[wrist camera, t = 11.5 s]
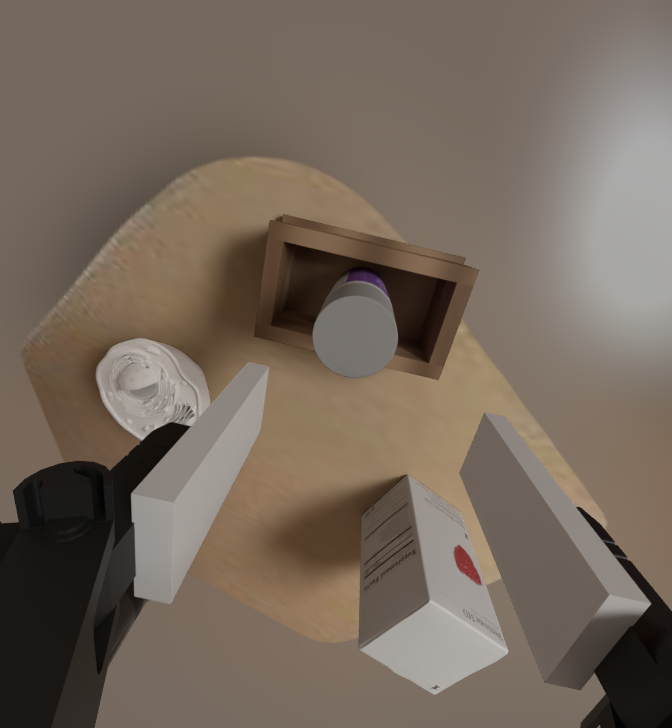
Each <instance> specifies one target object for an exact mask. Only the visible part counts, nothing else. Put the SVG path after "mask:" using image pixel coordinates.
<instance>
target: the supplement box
mask: <svg viewBox="0 0 672 728" xmlns="http://www.w3.org/2000/svg"><path fill="white" fill-rule="evenodd" d="M358 648H359V650H361V651H362V652H364V653H366V654H367V655H369V656H371V657H372V658H374V659H376V660H378V661H379V662H381V663H383V664H384V665H386V666H387V667H389V668H390V669H391V670H392V671H393V672H395V673H396V674H398V675H400V676H402V677H404V678H407V679H409V680H410V681H412V682H414V683H415V684H417V685H419V686H420V687H422V688H424V689H425V690H427V691H429V692H430V693H432V694H434V695H435V694H437V693H439V692H441V691H442V690H444V689H445V688H447V687H449V686H451V685H452V684H454V683H456V682H457V681H459V680H461V679H463V678H464V677H466V676H468V675H470V674H472V673H474V672H476V671H478V670H480V669H482V668H484V667H486V666H488V665H490V664H492V663H494V662H495V661H497V660H499V659H500V658H502V657H503V656H505V655H506V654H507V653H508V649H507V647H506V644H505V640H504V638H503V635H502V632H501V629H500V626H499V623H498V620H497V617H496V614H495V611H494V608H493V605H492V602H491V599H490V597H489V593H488V591H487V588H486V585H485V582H484V579H483V576H482V573H481V570H480V567H479V564H478V561H477V558H476V555H475V552H474V550H473V547H472V544H471V541H470V538H469V535H468V532H467V529H466V526H465V523H464V520H463V517H462V514H461V513H460V512H459V511H458V510H456V509H455V508H454V507H452V506H451V505H449V504H448V503H447V502H445V501H444V500H443V499H441V498H440V497H439V496H437V495H436V494H434V493H433V492H432V491H430V490H429V489H428V488H426V487H425V486H423V485H422V484H421V483H419V482H418V481H417V480H415V479H414V478H412V477H411V476H409V475H406V476H405V477H404V478H403V479H402V480H401V481H399V482H398V483H397V484H396V485H395V486H394V487H393V488H392V489H391V490H389V491H388V492H387V493H386V494H385V495H384V496H383V497H382V498H381V499H380V500H378V501H377V502H376V503H375V504H374V505H373V506H372V507H371V508H370V509H369V510H367V511H366V512H365V513H364V514H363V515H362V516H361V565H360V608H359V641H358Z"/></svg>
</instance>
